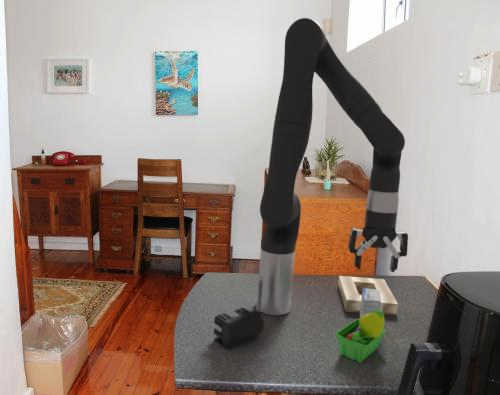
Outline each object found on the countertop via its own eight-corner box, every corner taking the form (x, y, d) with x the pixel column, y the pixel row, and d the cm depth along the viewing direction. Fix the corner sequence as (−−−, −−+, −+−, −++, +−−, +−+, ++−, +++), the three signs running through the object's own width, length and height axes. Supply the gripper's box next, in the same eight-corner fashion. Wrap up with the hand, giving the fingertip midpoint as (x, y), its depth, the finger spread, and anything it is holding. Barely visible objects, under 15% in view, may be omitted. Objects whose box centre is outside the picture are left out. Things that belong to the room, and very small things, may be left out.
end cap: (229, 354, 102) (231, 326, 101) (211, 340, 108) (213, 314, 106) (263, 341, 108) (265, 315, 107) (244, 329, 114) (246, 304, 112)
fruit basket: (355, 336, 113) (360, 294, 111) (389, 350, 108) (395, 306, 105) (332, 354, 105) (337, 308, 102) (368, 370, 99) (374, 322, 97)
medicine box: (377, 333, 115) (381, 301, 114) (359, 331, 116) (363, 299, 114) (375, 319, 123) (379, 289, 121) (358, 317, 124) (362, 287, 122)
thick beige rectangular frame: (345, 311, 127) (346, 299, 126) (338, 286, 144) (339, 275, 144) (396, 315, 126) (398, 304, 125) (382, 289, 144) (384, 279, 143)
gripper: (355, 209, 110) (349, 273, 113) (415, 213, 109) (407, 277, 112) (350, 203, 117) (345, 262, 121) (407, 206, 116) (399, 266, 120)
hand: (375, 269), depth 116 cm, fingers open, 8 cm apart
